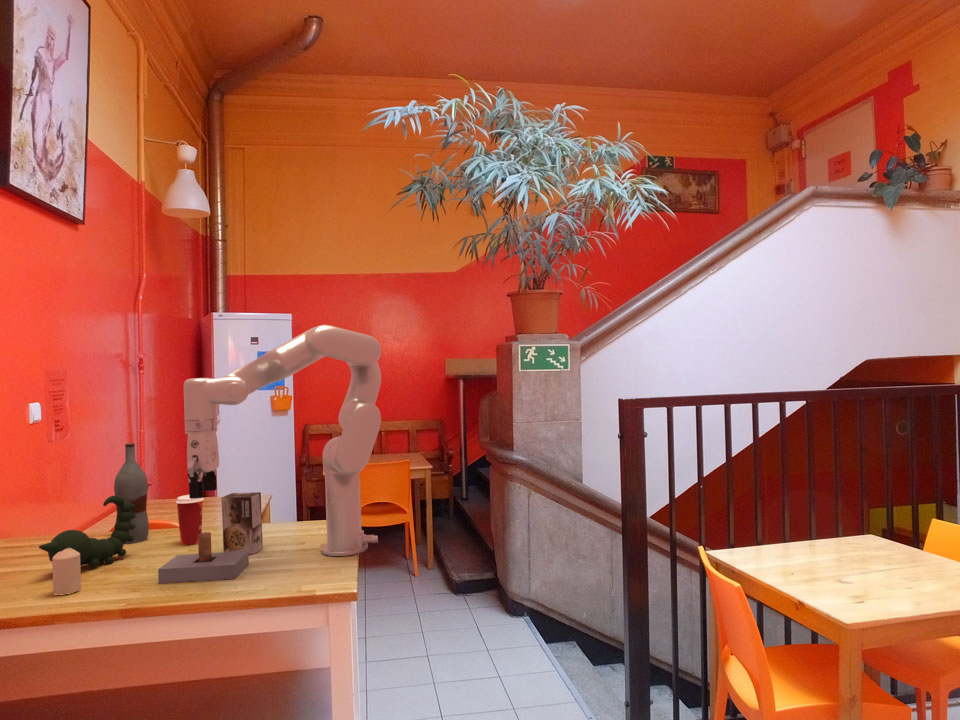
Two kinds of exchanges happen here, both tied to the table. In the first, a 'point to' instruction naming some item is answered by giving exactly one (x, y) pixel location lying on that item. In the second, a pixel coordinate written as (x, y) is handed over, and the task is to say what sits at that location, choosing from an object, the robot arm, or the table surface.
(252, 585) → the table surface
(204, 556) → the walnut peg
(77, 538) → the toy figurine
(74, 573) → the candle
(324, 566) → the table surface
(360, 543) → the robot arm
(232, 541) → the coffee box
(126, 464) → the bottle
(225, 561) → the hole block
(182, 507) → the paper cup
